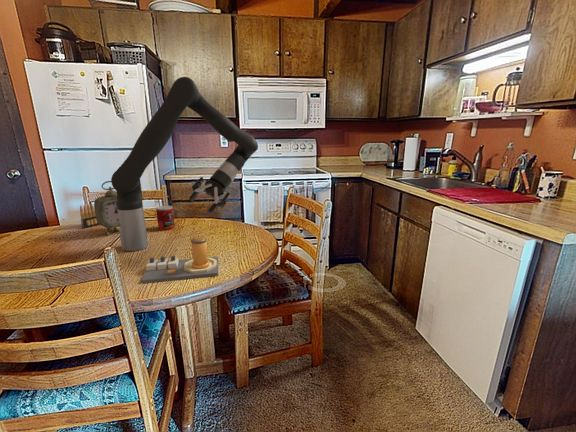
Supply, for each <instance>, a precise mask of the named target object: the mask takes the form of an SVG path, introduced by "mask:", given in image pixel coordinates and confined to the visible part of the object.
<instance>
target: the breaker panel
mask: <svg viewBox="0 0 576 432" xmlns="http://www.w3.org/2000/svg"><path fill="white" fill-rule="evenodd" d="M208 260H209V262H210V266H209V267H207V268H205V269H194V268H192V262H193V258H187V259H179V257H176V255H171V256H170V258H166V257H165V256H160V258H159V260H158V258H157V259H155V257H150V258H149V259H148V262H147V263H146V265H145V268H146V271H145V273H144V275H143V276H142V278H141V284H147V283H148V284H149V283H156V282H157V283H158V282H167V281H178V280H185V279H196V278H197V279H198V278H207V277H208V278H209V277H217V276H218V277H219V256H210V257H209V256H208Z"/></svg>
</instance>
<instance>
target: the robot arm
mask: <svg viewBox="0 0 576 432" xmlns="http://www.w3.org/2000/svg"><path fill="white" fill-rule="evenodd" d="M187 107H188V108H189V109H190V110H192V111H193V112H195V113H196V114H197V115H198V116H200V117H201V118H202V119H203V120H204V121H205V122H207V123H208V124H209V125H210V127H212V128H213V129H214V130H215V131H216V132H217V133H218V134H219V135H221V136H222V138H224V139H225V140H226V141H227V142H229V143H231V142H234V143H236V144H237V146H236V148H234V150H233V152H232V153H231V154H229V156H228V157H227V158H226V159H225V160H224V161H223V163H221V164H220V166H218V168H217V169H216V170H215V171H214V173H213V174H212V175H211V176H210V178H209V179H208V180H205V179H204V178H203V176H200V177H199V178H198V179H197V180H196V181H195V183H194V184H192V186H191V189H192V191H193V192H192V193H191V195H189V202H190V203H193V202H194V201H195V200H196V198H197V197H198V195H201V194H202V195H203V194H206V195H208V196H210V197H211V198H214V202H213V203H212V205H210V207H209V208H208V209H207V212H208V213H209V214H211V213H214V212H215V210H217V208H218V207H220V208H224V207H225V205H226V204H227V203H228V202H229V201H228V200H229V199H230V198H231V195H230V194H231V193H230V192H227V191H226V190H227V189H228V187H230V185H231V184H232V182H234V180H235V179H236V177H237V175H238V174H239V173H240V171H241V170H242V169H243V167H244V165H245V163H247V161H248V160H249V159H250V157H251V156H252V155H254V154H255V152H256V151H257V150H258V148H259V144H258V142H257V139H255V137H254V136H253V135H251V134H250V133H248V132H246V131H244V130H243V129H241V128H239V126H237V125H236V124H235V123H234V122H233V121H232V120H231V119H229V118H228V117H227V116H226V115H225V114H223V113H222V112H220V111H219V110H218V109H217V108H215V107H214V106H213V105H212V104H211V103H209V101H208V100H206V98H205V97H204V96H203V95H202V94H201V92H200V91H199V89H198V86H197V84H196V82H195V81H194V80H193V79H192V78H190V77H188V76H181V77H179V78H177V79H176V80H175V81H174V82H173V83H172V85H171V87H170V89H169V91H168V93H167V94H166V97H165V99H164V101H163V102H162V104H161V105H160V107H159V108H158V109H157V111H155V113H154V114H153V115H152V116H151V118H150V120H149V121H148V123H147V124H146V125H145V127H144V128H143V130H142V131H141V133H140V135H139V136H138V138H137V139H136V141H135V143H134V145H133V147H132V149H131V151H130V153H129V154H128V156H127V157H126V159H125V160H124V161H123V162H122V164H121V165H120V166H119V167H118V168H117V169H116V170H115V171H114V172H113V174H112V175H111V180H110V181H111V182H110V183H111V186H112V188H114V189H113V190H114V191H116V192H117V209H118V215H119V221H120V227H118V232H119V237H120V244H121V250H122V251H123V252H124V251H126V252H135V251H136V252H138V251H140V250H145V249H146V248H148V247H149V240H148V234H147V233H148V232H147V226H146V225H147V224H146V219H145V218H146V217H145V213H144V206H143V205H144V204H143V190H142V183H141V179H142V176H143V174H144V172H145V171H146V169H147V168H148V166H149V165H150V164H151V163H152V162H153V161H154V160H155V159H156V157H157V156H158V155H159V154H160V153H161V151H162V150H163V149H164V148H165V146H166V144H167V143H168V142H169V140H170V138H171V137H172V135H173V133H174V130H175V128H176V125H177V123H178V121H179V118H180V117H181V115H182V113H184V111H185V109H186V108H187ZM221 196H223V198H222V199H221V201H220V197H221Z"/></svg>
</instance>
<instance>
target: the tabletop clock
mask: <svg viewBox="0 0 576 432" xmlns="http://www.w3.org/2000/svg"><path fill="white" fill-rule="evenodd" d="M107 183H108V184H109V183H111V180H107V181H104V182H103V183H102V184H101V188H102V189H103V190H104V191H106V192H105V194H104V196H99V197H97V198H95V199H94V202H93V203H94V204H93V207H94V210H95V216H96V219H97V221H98V223H99V224H100V225H99V226H102V227H104V228H106V229H107V231H106V232H105V235H106V236H110V234H111V233H110V229H112V230H113V232H115V231H117V230H118V229H117V228H120V221H119V215H118V209H117V192H116V190H115V189H114V188H113V187H111V186H109V187H108V188H105V187H104V185H105V184H107Z"/></svg>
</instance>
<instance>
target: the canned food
mask: <svg viewBox="0 0 576 432" xmlns="http://www.w3.org/2000/svg"><path fill="white" fill-rule="evenodd" d="M155 210H156V211H155V212H156V220H157V226H158V230H160V231H171V230H173V229H175V227H176V226H175V217H174V216H175V214H174V208H173V206H172V205H158V206H156V208H155Z"/></svg>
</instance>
